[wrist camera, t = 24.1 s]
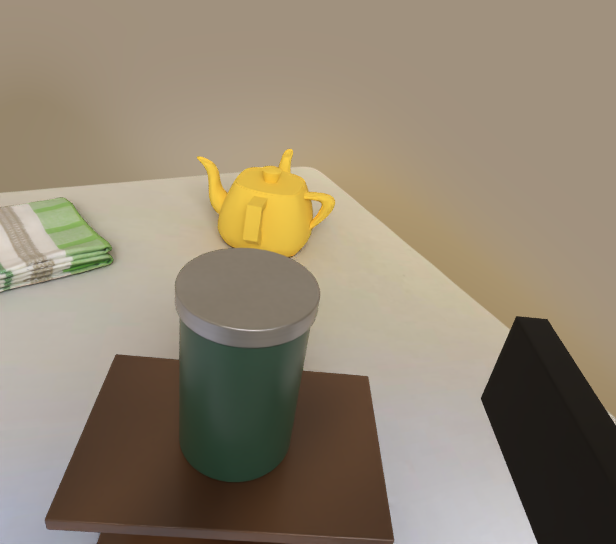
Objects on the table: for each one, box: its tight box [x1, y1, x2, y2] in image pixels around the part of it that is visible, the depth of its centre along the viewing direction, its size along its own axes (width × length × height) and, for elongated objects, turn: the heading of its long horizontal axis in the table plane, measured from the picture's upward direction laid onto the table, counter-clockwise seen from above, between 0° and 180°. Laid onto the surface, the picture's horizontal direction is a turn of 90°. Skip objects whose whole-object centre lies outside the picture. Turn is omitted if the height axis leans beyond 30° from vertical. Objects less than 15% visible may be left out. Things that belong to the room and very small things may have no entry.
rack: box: [45, 354, 394, 544], centre depth 32 cm, size 16×11×11 cm
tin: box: [175, 248, 320, 482], centre depth 26 cm, size 6×6×10 cm
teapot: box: [197, 149, 335, 257], centre depth 67 cm, size 14×13×10 cm
